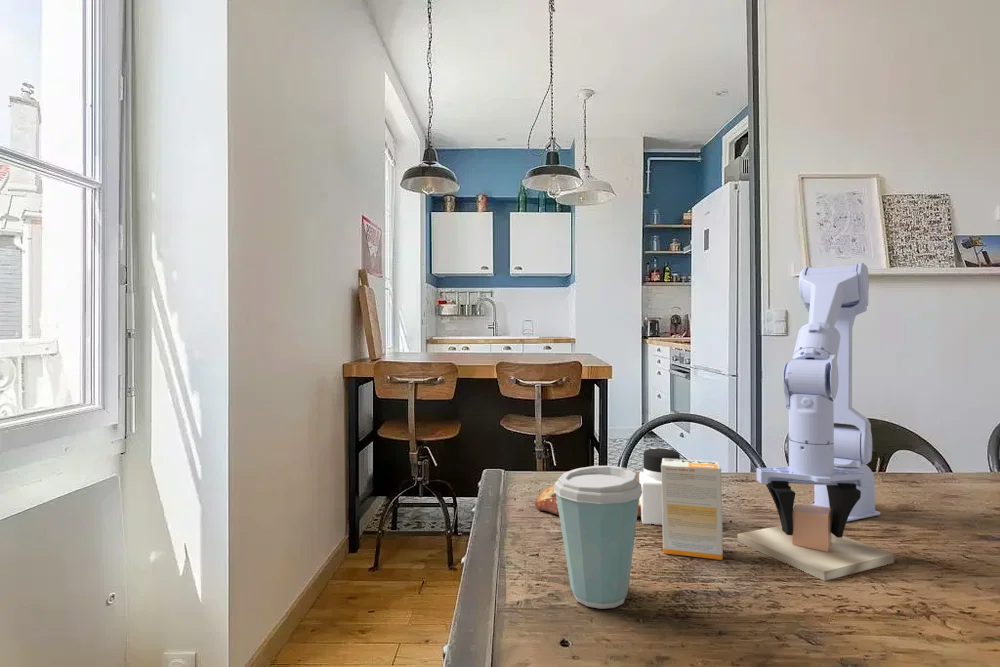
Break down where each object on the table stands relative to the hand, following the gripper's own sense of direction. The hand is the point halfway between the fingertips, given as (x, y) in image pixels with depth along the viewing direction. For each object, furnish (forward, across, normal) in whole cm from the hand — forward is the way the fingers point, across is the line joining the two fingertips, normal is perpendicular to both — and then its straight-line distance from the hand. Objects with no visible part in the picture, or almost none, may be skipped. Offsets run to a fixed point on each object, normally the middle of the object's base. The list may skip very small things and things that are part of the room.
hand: (811, 533), depth 76 cm
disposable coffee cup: (+3, -32, -17) cm, 36 cm away
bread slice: (+2, -31, +15) cm, 35 cm away
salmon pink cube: (+1, 0, 0) cm, 1 cm away
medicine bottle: (+3, -19, +12) cm, 23 cm away
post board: (+3, 0, 0) cm, 3 cm away
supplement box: (+3, -17, -2) cm, 18 cm away
